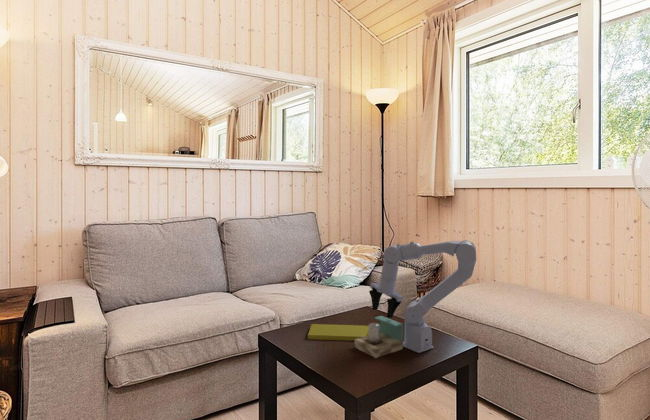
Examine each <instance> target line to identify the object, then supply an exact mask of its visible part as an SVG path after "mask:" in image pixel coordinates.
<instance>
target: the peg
mask: <svg viewBox="0 0 650 420" xmlns="http://www.w3.org/2000/svg"><path fill="white" fill-rule="evenodd" d="M368 326H369V343H370V344H372V345H377V344H380V323H377V322H369V323H368Z"/></svg>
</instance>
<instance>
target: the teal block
mask: <svg viewBox="0 0 650 420" xmlns="http://www.w3.org/2000/svg"><path fill="white" fill-rule="evenodd" d="M374 320H375V321H378V322H379V324H380V332H381V333H383V334H385V335H388V336H390V337H392V338H395V339H397V340H400V341H403V342H404V323H402V322H399V321H397V320H393V319H392V318H387V316H383V315H378V316H375V317H374Z"/></svg>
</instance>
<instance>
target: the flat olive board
mask: <svg viewBox="0 0 650 420" xmlns="http://www.w3.org/2000/svg"><path fill="white" fill-rule="evenodd" d="M368 335H369V325H355V324H322V323H321V324H320V323H311V325H310V328H309V332H308V334H307V340H316V341H317V340H319V341H320V340H321V341H322V340H323V341H348V342H349V341H352V342H353V341H354V342H355V339H357V338H361V337H364V336H368Z"/></svg>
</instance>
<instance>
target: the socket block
mask: <svg viewBox="0 0 650 420" xmlns="http://www.w3.org/2000/svg"><path fill="white" fill-rule="evenodd" d="M403 342H404V340H403V341H400V340H397V339H395V338H392V337H390V336H388V335H385V334H383V333H381V332H380V344H377V345H372V344H370V343H369V335H368V336H364V337H361V338H357V339H355V341H354V348H355V349H358V351H361V352H363V353H364V354H367V355H369V356H371V357H373V358H374V359H377V358H380V357H383V356H386V355H389V354H392V353H396V352H399V351H401V350H403V348H404V346H403Z"/></svg>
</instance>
